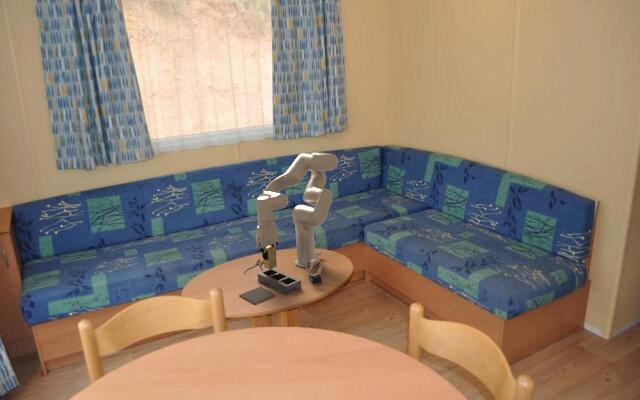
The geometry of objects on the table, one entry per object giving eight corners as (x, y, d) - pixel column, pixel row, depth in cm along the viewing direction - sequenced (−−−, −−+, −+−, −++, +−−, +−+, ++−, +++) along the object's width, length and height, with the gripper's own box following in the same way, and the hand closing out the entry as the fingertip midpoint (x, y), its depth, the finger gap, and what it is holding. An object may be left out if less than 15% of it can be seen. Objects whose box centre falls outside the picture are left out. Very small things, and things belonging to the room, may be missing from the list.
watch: (305, 280, 231) (304, 259, 228) (320, 277, 234) (319, 256, 231) (309, 285, 226) (308, 263, 223) (324, 281, 229) (324, 260, 226)
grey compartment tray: (258, 280, 233) (257, 273, 232) (272, 274, 239) (272, 267, 238) (286, 294, 217) (285, 286, 216) (301, 288, 223) (300, 280, 222)
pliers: (243, 274, 239) (247, 259, 259) (243, 276, 240) (247, 260, 259) (262, 273, 240) (265, 258, 259) (262, 275, 240) (265, 259, 259)
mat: (260, 287, 226) (260, 286, 226) (276, 295, 217) (276, 294, 217) (239, 296, 218) (239, 294, 218) (254, 304, 209) (254, 303, 209)
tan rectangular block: (271, 264, 235) (269, 245, 232) (276, 266, 232) (275, 247, 229) (264, 267, 232) (262, 247, 229) (269, 269, 229) (267, 250, 226)
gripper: (275, 216, 233) (278, 250, 238) (246, 225, 222) (250, 261, 228) (285, 219, 228) (288, 254, 233) (256, 228, 217) (260, 265, 222)
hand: (269, 257), depth 230 cm, fingers closed on tan rectangular block, 4 cm apart
